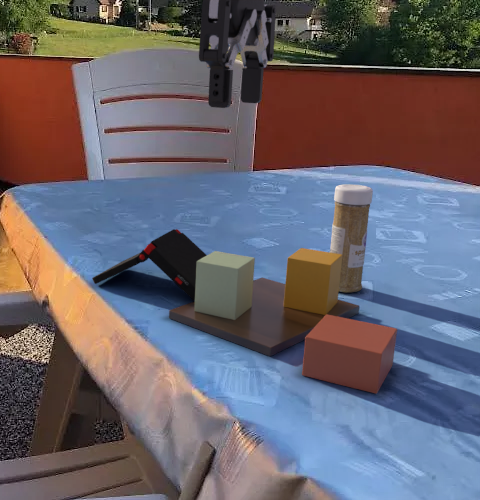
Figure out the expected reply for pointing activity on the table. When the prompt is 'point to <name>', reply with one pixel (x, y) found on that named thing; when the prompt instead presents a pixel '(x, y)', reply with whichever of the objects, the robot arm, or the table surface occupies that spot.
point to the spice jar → (351, 233)
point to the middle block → (224, 284)
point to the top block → (312, 280)
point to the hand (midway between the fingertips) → (235, 105)
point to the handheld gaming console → (166, 260)
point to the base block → (349, 353)
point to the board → (262, 320)
